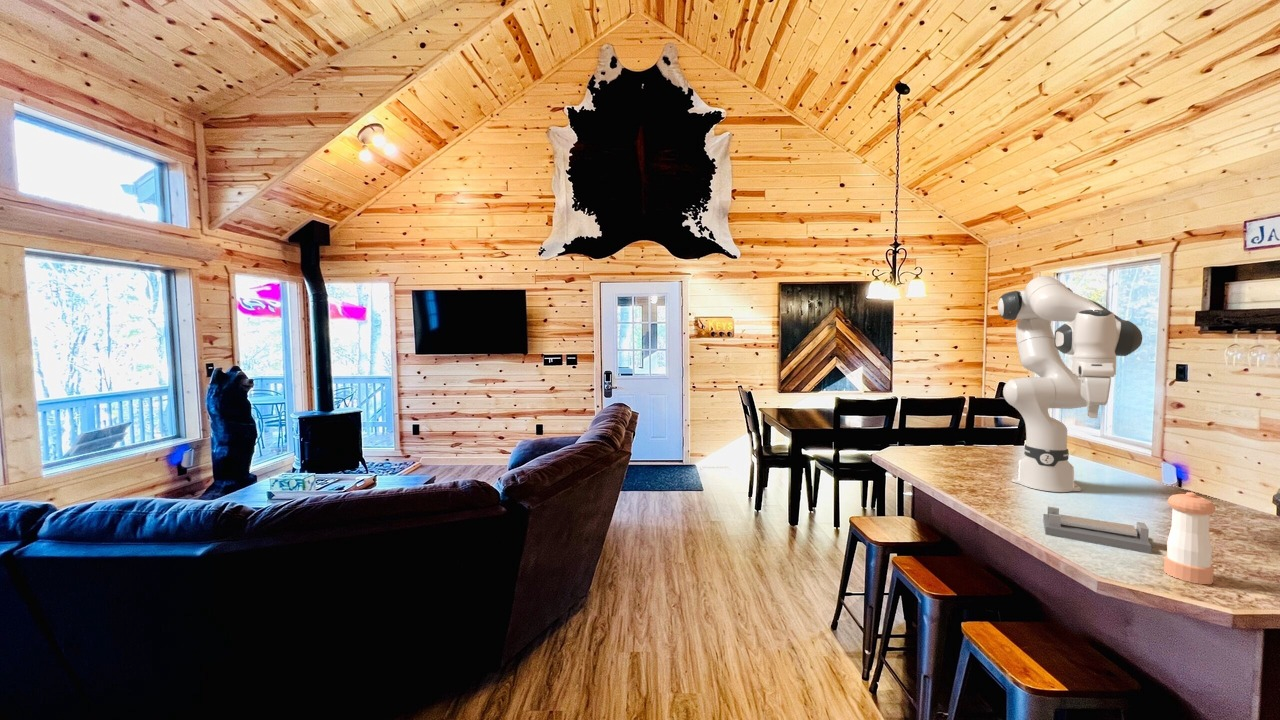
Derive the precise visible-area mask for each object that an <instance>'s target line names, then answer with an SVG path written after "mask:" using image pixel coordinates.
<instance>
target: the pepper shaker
mask: <svg viewBox="0 0 1280 720" xmlns="http://www.w3.org/2000/svg"><path fill="white" fill-rule="evenodd" d="M1166 501H1167V504H1168V506H1169V507H1170V508H1172V512H1171V527H1170V530H1169V534H1168V538H1167V542H1166V549H1167V550H1166V554H1165V555H1164V557H1163V559H1164V560H1163V572H1164V573H1165V574H1166V573H1167V574H1166V575H1168V576H1169V575H1170V576H1169V577H1171V576H1173V577H1172V578H1174V577H1175V578H1174V579H1176V578H1179V579H1182V580H1186V581H1189V582H1188V583H1190V582H1194V583H1193V584H1195V583H1200V584H1199V585H1202V584H1210V585H1213V584H1214V569H1215V568H1214V566H1213V564H1212V558H1213V557H1212V556H1213V548H1212V542H1211V538H1210V515H1213V514H1214V513H1215V512H1216V506H1215V504H1214V503H1213V502H1212V501H1211V500H1209V499H1207V498H1205V497H1202V496H1199V495H1197V494H1196V492H1195V493H1194V492H1192V491H1186V493H1177V494H1172V495H1170V496H1169V497H1168V499H1167V500H1166ZM1179 579H1178V580H1179ZM1182 580H1181V581H1182ZM1186 581H1185V582H1186ZM1212 583H1213V584H1212Z"/></svg>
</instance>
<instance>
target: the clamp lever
mask: <svg viewBox="0 0 1280 720" xmlns="http://www.w3.org/2000/svg"><path fill="white" fill-rule="evenodd" d="M1050 514H1055V515H1061V524H1062V525H1069V526H1075V527H1081V528H1087V529H1094V530H1100V531H1106V532H1112V533H1119V534H1125V535H1131V536H1137V531H1136V529H1137V528H1136V527H1135V526H1134V525H1132V524H1124V523H1119V522H1118V523H1117V522H1112V521H1106V520H1099V519H1092V518H1087V517H1086V518H1085V517H1079V516H1072V515H1066V514H1060V513H1059V514H1056V513H1050Z"/></svg>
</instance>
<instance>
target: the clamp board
mask: <svg viewBox="0 0 1280 720" xmlns="http://www.w3.org/2000/svg"><path fill="white" fill-rule="evenodd" d="M1050 513H1056V514H1060V508H1059V507H1053V506H1049V505H1048V506H1047V514H1046V513H1043V514H1042V516H1043V518H1042V521H1043V526H1044V527H1043V528H1044V535H1047V536H1052V537H1059V538H1064V539H1068V540H1075V541H1079V542H1086V543H1089V544H1090V543H1091V544H1096V545H1103V546H1108V547H1112V548H1117V549H1124V550H1130V551H1135V552H1140V553H1145V554H1151V555H1152V544H1151V543H1150V541H1149V533H1150V531H1149V528H1148V526H1147V525H1146V523H1145V522H1142V521H1141V522H1140V521H1136V528H1135V529H1136V531H1137V536H1131V535H1125V534H1119V533H1112V532H1106V531H1100V530H1094V529H1087V528H1081V527H1075V526H1069V525H1062V524H1061V515H1062V514H1060V515H1055V514H1050Z"/></svg>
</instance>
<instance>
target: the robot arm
mask: <svg viewBox="0 0 1280 720" xmlns="http://www.w3.org/2000/svg"><path fill="white" fill-rule="evenodd" d="M997 311H998V313H999V316H1000V317H1001V318H1002V319H1003V320H1007V321H1008V320H1010V321H1016V320H1017V322H1016V325H1015V340H1016V347H1017V351H1018V356H1019V360H1020V364H1021V366H1022V367H1023V368H1024V369H1026V370H1027V371H1030V372H1031V373H1034V374H1036V375H1038V376H1025V377H1017V378H1011V379H1009V380H1008V381H1007V382H1006V383H1005V384H1004V386H1003V388H1002V389H1003V390H1002V396H1003V398H1004V400H1005V401H1006V402H1007V403H1008V405H1010V406H1012V407H1013V408H1015V410H1016V411H1018V412H1019V414H1020V415H1021V418H1023V421H1024V424H1025V434H1026V435H1025V440H1026V441H1025V444H1024V448H1023V449H1024V450H1023V451H1024V453H1023V454H1024V457H1022V458H1021V459H1019V460H1018V462H1017V468H1018V470H1017V474H1016V475H1015V476H1014V477H1012V478H1011V482H1012V483H1015V484H1018V485H1022V486H1023V487H1027V488H1031V489H1035V490H1040V491H1043V492H1045V491H1046V492H1052V493H1068V492H1082V488H1081V487H1080V486H1079V485H1077V483H1075V467H1074V466H1073V465H1072V464H1071V462H1069V457H1070V452H1069V448H1068V428H1067V426H1066V425H1065V424H1064V423H1063V422H1062V421H1060V420H1058V419H1056V418H1054V417H1051V415H1050V413H1049V409H1063V410H1064V409H1065V410H1066V409H1067V410H1073V409H1080V408H1085V407H1086V408H1087V413H1086V415H1087V416H1088V418H1090V419H1098V415H1099V413H1098V412H1099V409H1100V406H1106V405H1107V404H1108V400H1109V396H1110V391H1111V382H1112V378H1114V377H1115V375H1117V357H1127V356H1128V355H1131V354H1132V353H1134V352H1135V351H1137V349H1139V348H1140V347H1141V345H1142V343H1143V334H1142V331H1141V329H1140V328H1139V327H1138V326H1137V325H1136V324H1135V323H1134V322H1132V321H1130V320H1126V319H1122V318H1121V317H1119V316H1117V315H1116V314H1114V312H1112V311H1110V310H1108V308H1106V307H1105V306H1103V305H1101V304H1100V303H1098V302H1097V301H1094V300H1091V299H1090V298H1086V297H1083V296H1081V295H1079V294H1077V293H1076V292H1073V290H1072V289H1070V287H1067V286H1066V284H1064V283H1063V282H1061V280H1058V279H1057V278H1055V277H1053V276H1049V275H1042V276H1037V277H1035V278H1033V279H1031V280H1030V281H1029V282H1028V283H1027V285H1026V286H1025V289H1023V290H1013V291H1012V290H1011V291H1009V292H1006V293H1004V294H1002V295H1001V296H1000V297H999V299H998V302H997ZM1052 322H1067V323H1064V324H1062V325H1060V326H1059V327H1058V328H1057V329H1056V330H1055V332H1053V329H1052ZM1060 352H1061V353H1062V354H1064V355H1065V354H1066V355H1070V356H1072V370H1071V369H1070V368H1069V367H1068V366H1067V365H1066V364H1065V363H1064V361H1063V359H1062V358H1061V357H1062V356H1061V355H1060Z"/></svg>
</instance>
